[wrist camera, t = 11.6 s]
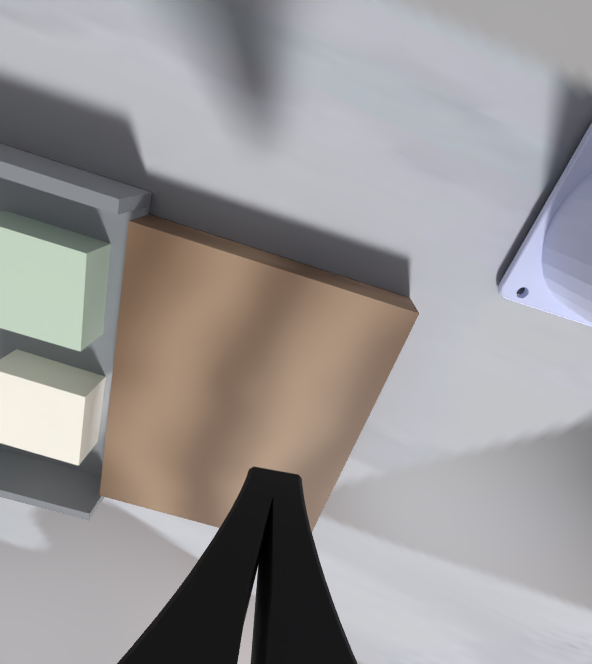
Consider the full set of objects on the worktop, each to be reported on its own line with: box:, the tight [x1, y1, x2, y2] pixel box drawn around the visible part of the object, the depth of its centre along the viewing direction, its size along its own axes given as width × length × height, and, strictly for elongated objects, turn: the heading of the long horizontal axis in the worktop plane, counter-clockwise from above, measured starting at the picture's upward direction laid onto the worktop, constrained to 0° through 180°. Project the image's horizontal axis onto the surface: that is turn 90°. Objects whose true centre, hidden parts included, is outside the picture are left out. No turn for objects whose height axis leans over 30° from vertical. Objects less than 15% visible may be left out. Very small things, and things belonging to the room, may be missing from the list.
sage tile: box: [0, 211, 111, 352], centre depth 18 cm, size 5×5×2 cm
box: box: [0, 143, 152, 520], centre depth 19 cm, size 12×19×3 cm, turn 163°
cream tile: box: [0, 349, 106, 466], centre depth 21 cm, size 5×5×2 cm
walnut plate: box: [100, 214, 419, 532], centre depth 21 cm, size 13×17×2 cm
